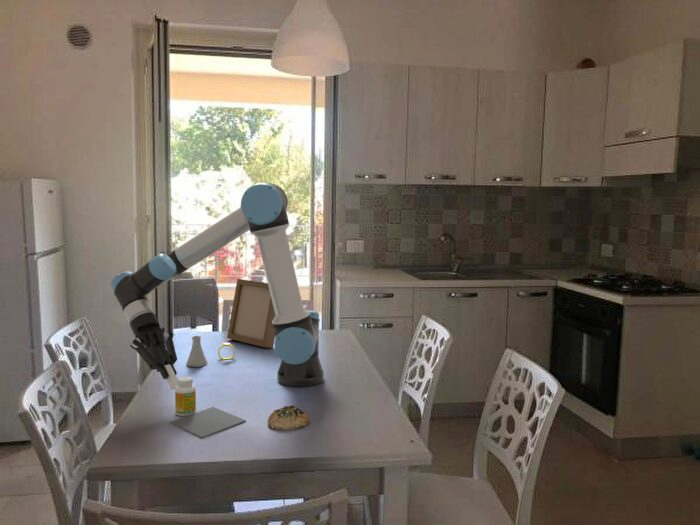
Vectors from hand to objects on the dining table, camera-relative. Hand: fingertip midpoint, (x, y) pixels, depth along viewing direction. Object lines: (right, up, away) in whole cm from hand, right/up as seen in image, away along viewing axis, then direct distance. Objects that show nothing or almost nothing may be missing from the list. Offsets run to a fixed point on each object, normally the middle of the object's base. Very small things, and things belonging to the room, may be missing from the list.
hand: (175, 386), depth 158 cm
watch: (+4, -1, +49) cm, 49 cm away
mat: (+11, -8, -8) cm, 15 cm away
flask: (-5, -1, +42) cm, 42 cm away
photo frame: (+11, +2, +73) cm, 74 cm away
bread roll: (+32, -9, -7) cm, 34 cm away
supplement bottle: (+3, -7, -1) cm, 8 cm away
